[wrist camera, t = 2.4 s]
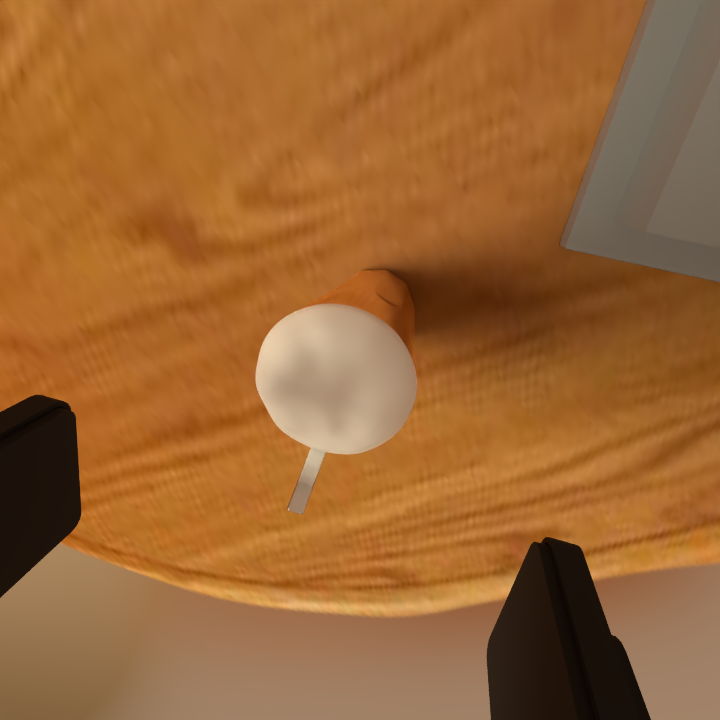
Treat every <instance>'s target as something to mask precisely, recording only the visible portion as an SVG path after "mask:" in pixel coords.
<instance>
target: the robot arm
mask: <svg viewBox="0 0 720 720" xmlns="http://www.w3.org/2000/svg"><path fill="white" fill-rule="evenodd" d="M80 517H81V499H80V482H79V465H78V448H77V430H76V417H75V414H74V413H73V412H72V411H71V408H70V406H69V405H68V403H66V402H64V401H60V400H57V399H53V398H50V397H46V396H43V395H34V396H31V397H29V398H27V399H25V400H23V401H21V402H19V403H17V404H15V405H13V406H11V407H9V408H8V409H6V410H4V411H2V412H0V597H2V596H3V595H4V593H6V592H7V591H8V590H9V589H10V588H11V587H12V586H13V585H15V584H16V583H17V582H18V581H19V580H20V579H21V578H22V577H23V576H24V575H25V574H26V573H27V572H28V571H30V570H31V569H32V568H33V567H34V566H35V565H36V564H37V563H38V562H39V561H40V560H41V559H43V558H44V557H45V556H46V555H47V554H48V553H49V552H50V551H51V550H52V549H53V548H54V547H56V546H57V545H58V544H59V543H60V542H61V541H62V540H63V539H64V538H65V537H66V536H67V535H68V534H70V533H71V532H72V531H73V530H74V528H75V527H76V526H77V524H78V522H79V520H80ZM487 667H488V668H487V669H488V682H489V696H490V712H491V720H651V719H650V716H649V713H648V711H647V708H646V705H645V702H644V700H643V697H642V694H641V691H640V689H639V686H638V683H637V681H636V678H635V675H634V673H633V669H632V667H631V664H630V661H629V659H628V656H627V653H626V651H625V649H624V647H623V645H622V643H621V642H620V641H619V639H618V638H617V637H616V636H613V635H611V632H610V629H609V627H608V624H607V621H606V618H605V615H604V612H603V610H602V606H601V603H600V601H599V598H598V595H597V592H596V589H595V586H594V583H593V580H592V577H591V574H590V572H589V569H588V566H587V563H586V560H585V557H584V554H583V552H582V550H581V548H580V547H579V546H578V545H575V544H571V543H568V542H564V541H561V540H557V539H553V538H550V537H546V538H544V539H543V541H542V542H541V543H538V542H533V543H532V544H531V546H530V548H529V550H528V552H527V555H526V557H525V559H524V561H523V564H522V566H521V568H520V570H519V573H518V575H517V577H516V579H515V582H514V584H513V586H512V588H511V591H510V593H509V595H508V597H507V600H506V602H505V604H504V607H503V609H502V611H501V613H500V615H499V618H498V620H497V622H496V624H495V627H494V629H493V631H492V633H491V636H490V639H489V642H488V648H487Z"/></svg>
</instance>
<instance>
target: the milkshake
mask: <svg viewBox="0 0 720 720" xmlns="http://www.w3.org/2000/svg"><path fill="white" fill-rule="evenodd" d="M256 386H257V390H258V393H259V395H260V397H261V399H262V401H263V403H264V404H265V406H266V408H267V410H268V412H269V414H270V416H271V418H272V419H273V421H274V422H275V424H276V425H277V426H278V427H279V428H280V429H281V430H282V431H283V432H284V433H286V434H287V435H288V436H290V437H291V438H293V439H295V440H296V441H298V442H300V443H302V444H304V445H306V446H309V447H311V448H310V451H309V453H308V456H307V459H306V461H305V464H304V466H303V469H302V471H301V474H300V476H299V479H298V481H297V484H296V486H295V489H294V492H293V494H292V497H291V499H290V502H289V504H288V508H287V509H288V510H289V511H292V512H295V513H298V514H303V513H304V510H305V508H306V505H307V502H308V500H309V497H310V494H311V492H312V489H313V486H314V483H315V481H316V478H317V475H318V472H319V470H320V467H321V464H322V462H323V459H324V456H325V453H326V452H329V453H335V454H357V453H362V452H365V451H368V450H371V449H373V448H375V447H377V446H379V445H381V444H383V443H384V442H386V441H388V440H389V439H390V438H392V437H393V436H394V435H395V434H396V433H397V432H398V431H399V430H400V429H401V428H402V427H403V425H404V424H405V422H406V420H407V418H408V417H409V415H410V412H411V410H412V408H413V405H414V402H415V398H416V393H417V377H416V368H415V354H414V303H413V300H412V298H411V295H410V292H409V290H408V287H407V284H406V283H405V282H404V281H402V280H401V279H399V278H398V277H396V276H395V275H393V274H392V273H391V272H389V271H388V270H362V271H360V272H359V273H357V274H356V275H354V276H353V277H352V278H350V279H349V280H347V281H346V282H344V283H343V284H341V285H340V286H338V287H337V288H335V289H334V290H332V291H331V292H329V293H327V294H326V295H324V296H322V297H320V298H318V299H317V300H315V301H313V302H311V303H310V304H308V305H306V306H304V307H302V308H301V309H299V310H297V311H295V312H293V313H291V314H289V315H288V316H286V317H285V318H283V319H282V320H281V321H279V322H278V323H277V324H276V325H275V326H274V327H273V328H272V329H271V331H270V332H269V333H268V335H267V336H266V338H265V340H264V342H263V344H262V347H261V350H260V353H259V358H258V363H257V369H256Z"/></svg>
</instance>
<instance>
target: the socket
mask: <svg viewBox="0 0 720 720" xmlns="http://www.w3.org/2000/svg"><path fill="white" fill-rule="evenodd" d="M559 245H561V246H562V247H563V248H565V249H569V250H574V251H579V252H583V253H588V254H592V255H597V256H602V257H606V258H611V259H615V260H620V261H625V262H629V263H634V264H638V265H643V266H647V267H652V268H657V269H661V270H666V271H670V272H675V273H680V274H684V275H689V276H693V277H698V278H703V279H707V280H712V281H716V282H720V0H647V3H646V5H645V8H644V11H643V14H642V16H641V19H640V22H639V25H638V28H637V30H636V33H635V36H634V39H633V41H632V44H631V47H630V50H629V52H628V55H627V58H626V61H625V63H624V66H623V69H622V72H621V75H620V77H619V80H618V83H617V86H616V88H615V91H614V94H613V97H612V99H611V102H610V105H609V108H608V111H607V113H606V116H605V119H604V122H603V124H602V127H601V130H600V133H599V135H598V138H597V141H596V144H595V146H594V149H593V152H592V155H591V158H590V160H589V163H588V166H587V169H586V171H585V174H584V177H583V180H582V182H581V185H580V188H579V191H578V194H577V196H576V199H575V202H574V205H573V207H572V210H571V213H570V216H569V218H568V221H567V224H566V227H565V229H564V232H563V235H562V238H561V241H560V243H559Z"/></svg>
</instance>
